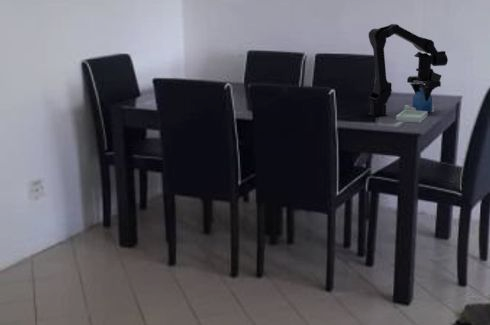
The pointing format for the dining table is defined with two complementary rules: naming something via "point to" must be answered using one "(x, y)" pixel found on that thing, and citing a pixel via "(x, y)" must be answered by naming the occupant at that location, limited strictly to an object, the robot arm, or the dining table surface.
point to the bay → (410, 107)
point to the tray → (411, 116)
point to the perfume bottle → (422, 101)
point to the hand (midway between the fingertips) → (422, 99)
